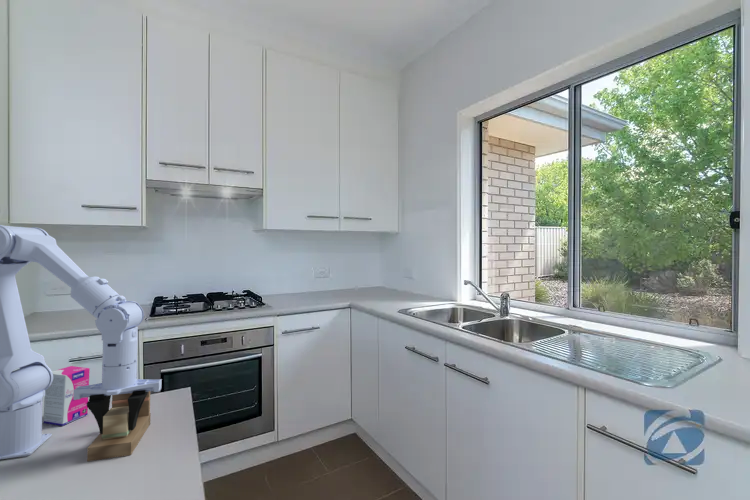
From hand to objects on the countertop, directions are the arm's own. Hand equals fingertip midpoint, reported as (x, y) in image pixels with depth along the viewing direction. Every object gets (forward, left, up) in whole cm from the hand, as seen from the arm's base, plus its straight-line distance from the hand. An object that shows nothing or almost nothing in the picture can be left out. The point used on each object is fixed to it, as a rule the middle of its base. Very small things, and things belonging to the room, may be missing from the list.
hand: (118, 429), depth 71 cm
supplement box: (-15, +16, -3) cm, 23 cm away
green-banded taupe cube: (0, 0, -1) cm, 1 cm away
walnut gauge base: (0, +2, -3) cm, 4 cm away
